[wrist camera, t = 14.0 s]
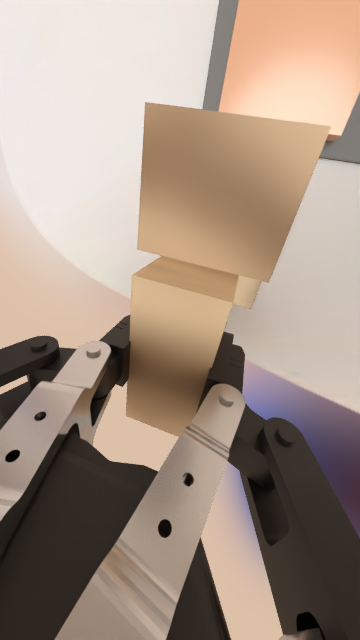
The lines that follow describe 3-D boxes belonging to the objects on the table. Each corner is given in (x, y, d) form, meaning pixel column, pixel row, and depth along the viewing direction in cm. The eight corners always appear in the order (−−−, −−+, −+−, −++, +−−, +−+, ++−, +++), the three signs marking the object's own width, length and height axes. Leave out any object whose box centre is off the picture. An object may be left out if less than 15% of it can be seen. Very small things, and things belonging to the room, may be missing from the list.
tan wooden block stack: (221, 396, 14) (211, 450, 11) (134, 366, 15) (105, 407, 12) (326, 131, 7) (376, 84, 4) (152, 107, 8) (92, 57, 5)
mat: (536, -87, 11) (545, -95, 11) (394, 168, 17) (396, 167, 17) (233, -78, 14) (232, -84, 14) (198, 139, 20) (197, 138, 20)
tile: (441, -102, 11) (256, -94, 12) (341, 135, 15) (217, 119, 17) (415, -59, 12) (256, -57, 14) (332, 141, 17) (220, 126, 19)
